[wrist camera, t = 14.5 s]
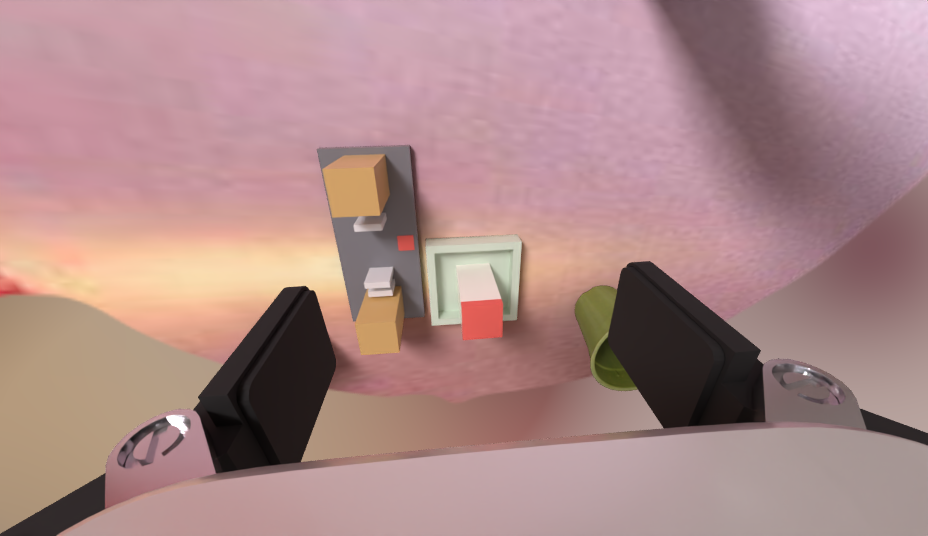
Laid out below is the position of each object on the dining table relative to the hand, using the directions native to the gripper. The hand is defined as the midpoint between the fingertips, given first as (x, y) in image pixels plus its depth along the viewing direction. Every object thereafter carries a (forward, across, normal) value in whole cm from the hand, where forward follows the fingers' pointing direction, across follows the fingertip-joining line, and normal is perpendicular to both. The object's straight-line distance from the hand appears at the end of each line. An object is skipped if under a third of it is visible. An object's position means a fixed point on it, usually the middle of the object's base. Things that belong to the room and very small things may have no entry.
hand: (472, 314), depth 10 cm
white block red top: (+31, -2, +17) cm, 35 cm away
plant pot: (+32, -21, +23) cm, 45 cm away
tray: (+32, -2, +17) cm, 36 cm away
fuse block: (+31, +10, +10) cm, 34 cm away
